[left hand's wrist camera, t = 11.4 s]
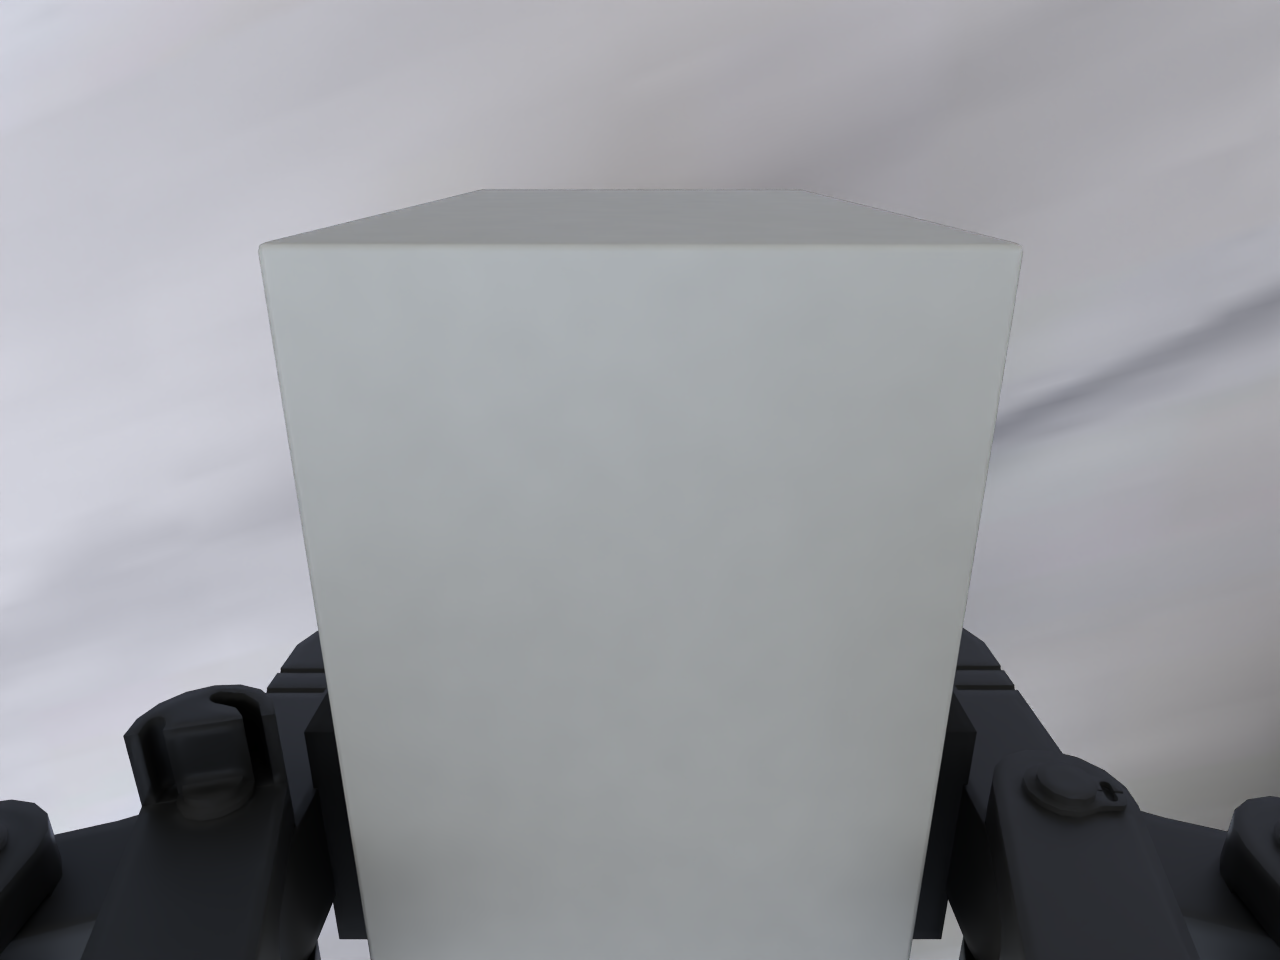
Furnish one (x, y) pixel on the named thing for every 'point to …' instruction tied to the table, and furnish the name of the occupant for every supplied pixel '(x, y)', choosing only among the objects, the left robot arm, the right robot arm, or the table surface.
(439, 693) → the beam
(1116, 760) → the table surface
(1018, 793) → the left robot arm
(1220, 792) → the table surface
